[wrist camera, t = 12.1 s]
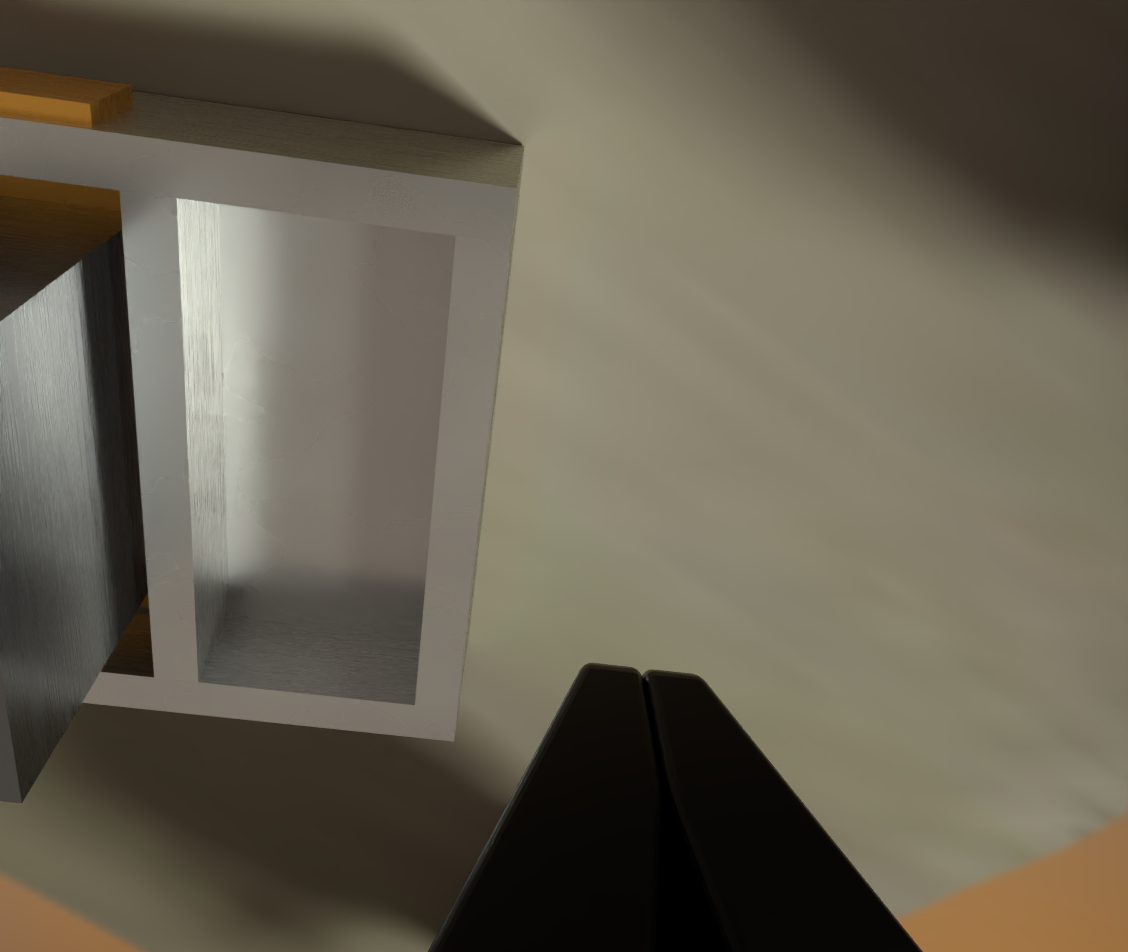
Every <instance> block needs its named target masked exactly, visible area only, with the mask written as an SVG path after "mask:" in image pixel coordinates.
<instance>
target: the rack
mask: <svg viewBox="0 0 1128 952" xmlns="http://www.w3.org/2000/svg"><path fill="white" fill-rule="evenodd" d="M523 152H524V146H520V145H513V144H506V143H499V142H491V141H484V140H477V139H470V138H463V137H456V136H449V135H442V134H434V133H427V132H420V131H413V130H406V129H399V128H392V127H385V126H378V125H370V124H363V123H356V122H349V121H342V120H335V119H328V118H321V117H313V116H306V115H299V114H292V113H285V112H278V111H271V110H264V109H257V108H249V107H242V106H235V105H228V104H221V103H214V102H207V101H200V100H192V99H185V98H178V97H171V96H164V95H157V94H150V93H143V92H136V91H132V85H128V84H121V83H114V82H107V81H99V80H92V79H85V78H78V77H71V76H64V75H57V74H50V73H43V72H36V71H28V70H21V69H14V68H7V67H0V195H3V196H11V197H18V198H26V199H33V200H40V201H48V202H55V203H62V204H70V205H77V206H84V207H92V208H99V209H106V210H114V211H121V218H122V232H123V246H124V260H125V274H126V289H127V303H128V317H129V331H130V345H131V359H132V373H133V387H134V401H135V415H136V429H137V443H138V457H139V471H140V485H141V499H142V513H143V527H144V541H145V555H146V569H147V583H148V593H147V595H146V597H145V598H144V600H143V602H142V603H141V605H140V607H139V608H138V610H137V612H136V613H135V615H134V617H133V618H132V620H131V622H130V623H129V625H128V627H127V628H126V630H125V632H124V633H123V635H122V637H121V638H120V640H119V642H118V643H117V645H116V647H115V648H114V650H113V652H112V653H111V655H110V657H109V658H108V660H107V662H106V663H105V665H104V667H103V668H102V670H101V672H100V673H99V675H98V677H97V678H96V680H95V682H94V683H93V685H92V687H91V688H90V690H89V692H88V693H87V695H86V697H85V698H84V700H83V702H82V703H90V704H100V705H109V706H119V707H128V708H138V709H148V710H157V711H167V712H176V713H186V714H195V715H205V716H215V717H224V718H234V719H243V720H253V721H262V722H272V723H281V724H291V725H301V726H310V727H320V728H329V729H339V730H348V731H358V732H368V733H377V734H387V735H396V736H406V737H415V738H425V739H434V740H444V741H454V738H455V730H456V723H457V716H458V708H459V701H460V694H461V686H462V679H463V671H464V664H465V657H466V649H467V641H468V632H469V623H470V615H471V606H472V597H473V588H474V580H475V571H476V562H477V553H478V545H479V536H480V527H481V519H482V510H483V501H484V492H485V484H486V475H487V466H488V457H489V449H490V440H491V431H492V423H493V414H494V405H495V396H496V388H497V379H498V370H499V362H500V353H501V344H502V335H503V327H504V318H505V309H506V300H507V292H508V283H509V274H510V266H511V257H512V248H513V239H514V231H515V222H516V213H517V205H518V196H519V187H520V178H521V170H522V161H523Z"/></svg>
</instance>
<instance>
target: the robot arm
mask: <svg viewBox="0 0 1128 952" xmlns="http://www.w3.org/2000/svg"><path fill="white" fill-rule="evenodd" d="M428 952H922V950H921V949H920V948H919V947H918V945H917V944H916V943H915V942H914V941H913V939H912V938H911V937H910V935H909V934H908V933H907V932H906V930H905V929H904V928H903V927H902V925H901V924H900V923H899V922H898V920H897V919H896V918H895V917H894V915H893V914H892V913H891V912H890V911H889V909H888V908H887V907H886V906H885V904H884V903H883V902H882V901H881V899H880V898H879V897H878V896H877V894H876V893H875V892H874V891H873V889H872V888H871V887H870V886H869V884H868V883H867V882H866V881H865V879H864V878H863V877H862V876H861V874H860V873H859V872H858V871H857V869H856V868H855V867H854V866H853V864H852V863H851V862H850V861H849V859H848V858H847V857H846V856H845V855H844V853H843V852H842V851H841V850H840V848H839V847H838V846H837V845H836V843H835V842H834V841H833V840H832V838H831V837H830V836H829V835H828V833H827V832H826V831H825V830H824V828H823V827H822V826H821V825H820V823H819V822H818V821H817V820H816V818H815V817H814V816H813V815H812V813H811V812H810V811H809V810H808V808H807V807H806V806H805V805H804V804H803V802H802V801H801V800H800V799H799V797H798V796H797V795H796V794H795V792H794V791H793V790H792V789H791V787H790V786H789V785H788V784H787V782H786V781H785V780H784V779H783V777H782V776H781V775H780V774H779V772H778V771H777V770H776V769H775V767H774V766H773V765H772V764H771V762H770V761H769V760H768V759H767V757H766V756H765V755H764V754H763V753H762V751H761V750H760V749H759V748H758V746H757V745H756V744H755V743H754V741H753V740H752V739H751V738H750V736H749V735H748V734H747V733H746V731H745V730H744V729H743V728H742V726H741V725H740V724H739V723H738V721H737V720H736V719H735V718H734V716H733V715H732V714H731V713H730V711H729V710H728V709H727V708H726V706H725V705H724V704H723V703H722V701H721V700H720V699H719V698H718V697H717V695H716V694H715V693H714V692H713V690H712V689H711V688H710V687H709V685H708V684H707V683H706V682H705V681H704V680H703V679H702V678H701V677H699V676H698V675H694V674H690V673H680V672H671V671H662V670H648V671H646V672H645V673H644V674H643V675H642V676H641V674H640V672H639V671H638V670H636V669H635V668H632V667H626V666H617V665H608V664H599V663H588V664H586V665H584V666H583V667H582V668H581V670H580V671H579V673H578V675H577V677H576V679H575V680H574V682H573V684H572V686H571V688H570V690H569V692H568V693H567V695H566V697H565V699H564V701H563V703H562V705H561V706H560V708H559V710H558V712H557V714H556V716H555V717H554V719H553V721H552V723H551V725H550V727H549V729H548V730H547V732H546V734H545V736H544V738H543V740H542V741H541V743H540V745H539V747H538V749H537V751H536V753H535V754H534V756H533V758H532V760H531V762H530V764H529V766H528V767H527V769H526V771H525V773H524V775H523V777H522V778H521V780H520V782H519V784H518V786H517V788H516V790H515V791H514V793H513V795H512V797H511V799H510V801H509V803H508V804H507V806H506V808H505V810H504V812H503V814H502V815H501V817H500V819H499V821H498V823H497V825H496V827H495V828H494V830H493V832H492V834H491V836H490V838H489V839H488V841H487V843H486V845H485V847H484V849H483V851H482V852H481V854H480V856H479V858H478V860H477V862H476V864H475V865H474V867H473V869H472V871H471V873H470V875H469V876H468V878H467V880H466V882H465V884H464V886H463V888H462V889H461V891H460V893H459V895H458V897H457V899H456V901H455V902H454V904H453V906H452V908H451V910H450V912H449V913H448V915H447V917H446V919H445V921H444V923H443V925H442V926H441V928H440V930H439V932H438V934H437V936H436V938H435V939H434V941H433V943H432V945H431V947H430V949H429V950H428Z"/></svg>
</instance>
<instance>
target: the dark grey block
mask: <svg viewBox="0 0 1128 952" xmlns="http://www.w3.org/2000/svg"><path fill="white" fill-rule="evenodd" d="M147 593H148V583H147V569H146V555H145V541H144V527H143V513H142V499H141V485H140V471H139V457H138V443H137V429H136V415H135V401H134V387H133V373H132V359H131V345H130V331H129V317H128V303H127V289H126V274H125V260H124V246H123V232H122V218H121V211H114V210H106V209H99V208H92V207H84V206H77V205H70V204H62V203H55V202H48V201H40V200H33V199H26V198H18V197H11V196H3V195H0V801H5V802H15V803H22V802H23V800H24V799H25V797H26V795H27V794H28V792H29V790H30V789H31V787H32V785H33V784H34V782H35V780H36V779H37V777H38V775H39V774H40V772H41V770H42V769H43V767H44V765H45V764H46V762H47V760H48V759H49V757H50V755H51V754H52V752H53V750H54V749H55V747H56V745H57V744H58V742H59V740H60V739H61V737H62V735H63V734H64V732H65V730H66V729H67V727H68V725H69V724H70V722H71V720H72V719H73V717H74V715H75V714H76V712H77V710H78V709H79V707H80V705H81V703H82V702H83V700H84V698H85V697H86V695H87V693H88V692H89V690H90V688H91V687H92V685H93V683H94V682H95V680H96V678H97V677H98V675H99V673H100V672H101V670H102V668H103V667H104V665H105V663H106V662H107V660H108V658H109V657H110V655H111V653H112V652H113V650H114V648H115V647H116V645H117V643H118V642H119V640H120V638H121V637H122V635H123V633H124V632H125V630H126V628H127V627H128V625H129V623H130V622H131V620H132V618H133V617H134V615H135V613H136V612H137V610H138V608H139V607H140V605H141V603H142V602H143V600H144V598H145V597H146V595H147Z"/></svg>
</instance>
